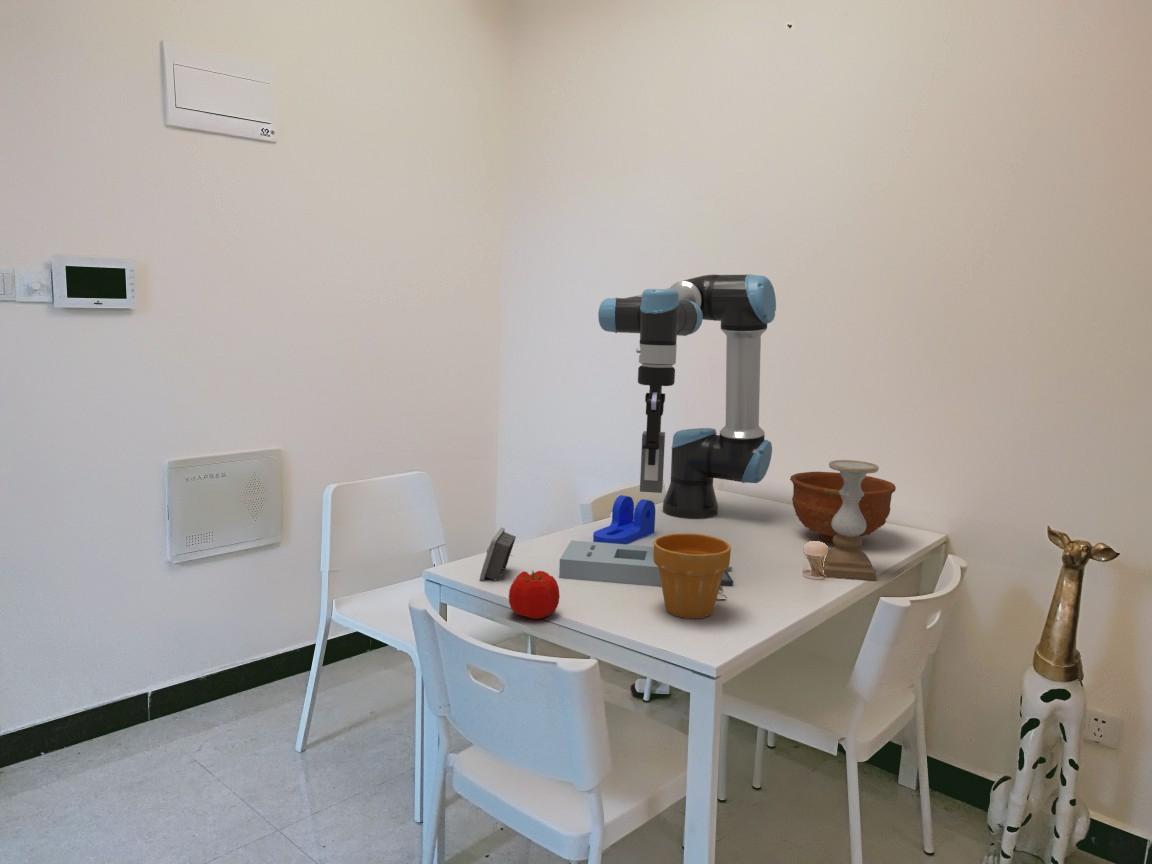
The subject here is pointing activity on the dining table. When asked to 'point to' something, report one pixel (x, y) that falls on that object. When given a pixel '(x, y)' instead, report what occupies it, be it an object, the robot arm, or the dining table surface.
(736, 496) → the dining table surface
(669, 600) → the flower pot
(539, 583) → the tomato
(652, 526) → the bracket
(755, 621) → the dining table surface
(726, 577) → the phone
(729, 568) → the usb cable
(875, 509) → the bowl
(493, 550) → the electrical switch
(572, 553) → the plate
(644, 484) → the plug
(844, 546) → the candle holder
